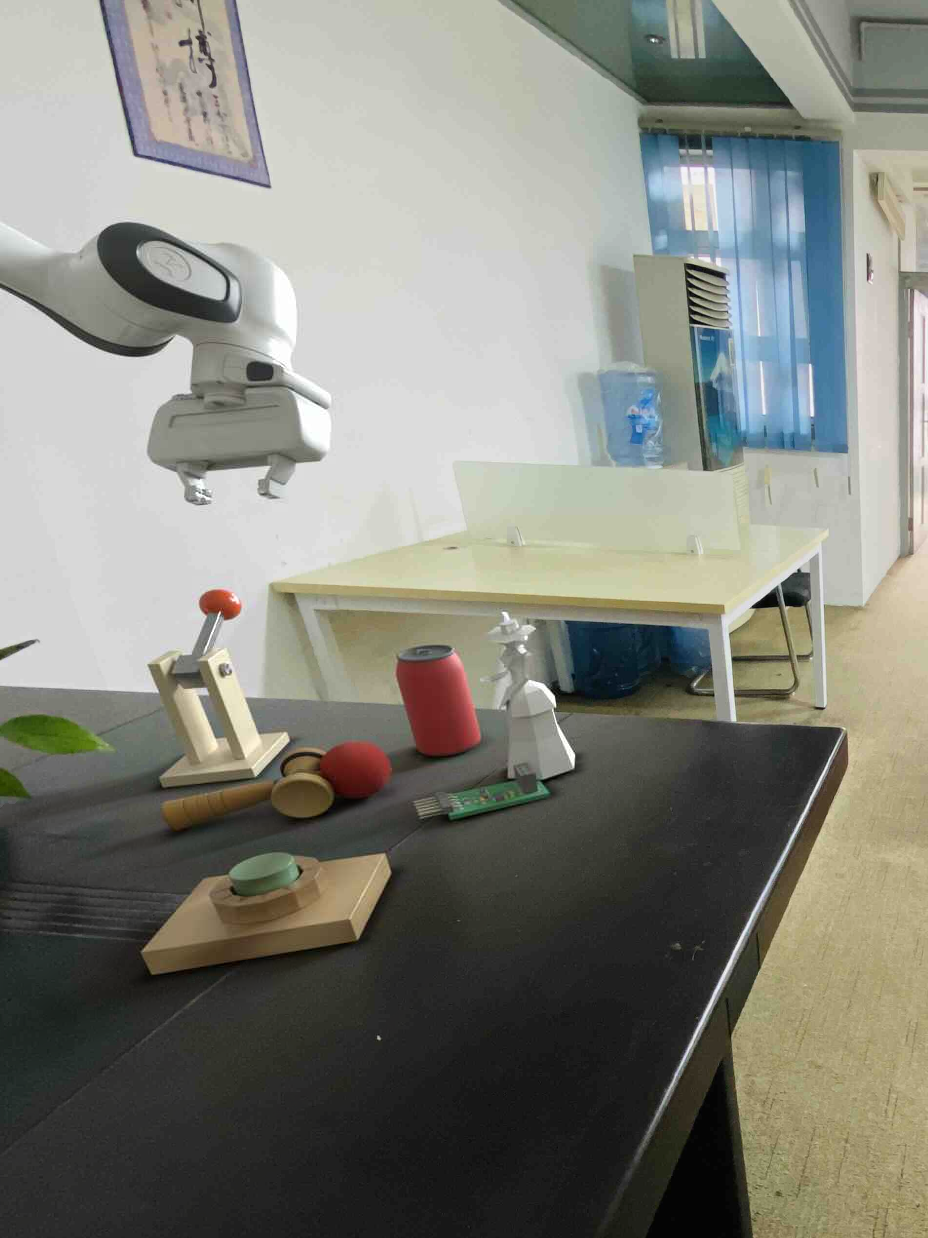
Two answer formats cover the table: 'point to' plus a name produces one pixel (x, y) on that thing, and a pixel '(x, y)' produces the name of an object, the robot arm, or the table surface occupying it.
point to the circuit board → (487, 796)
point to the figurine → (528, 708)
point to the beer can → (437, 700)
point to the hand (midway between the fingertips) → (233, 500)
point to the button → (264, 874)
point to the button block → (270, 915)
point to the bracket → (203, 752)
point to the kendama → (293, 785)
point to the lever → (206, 635)
